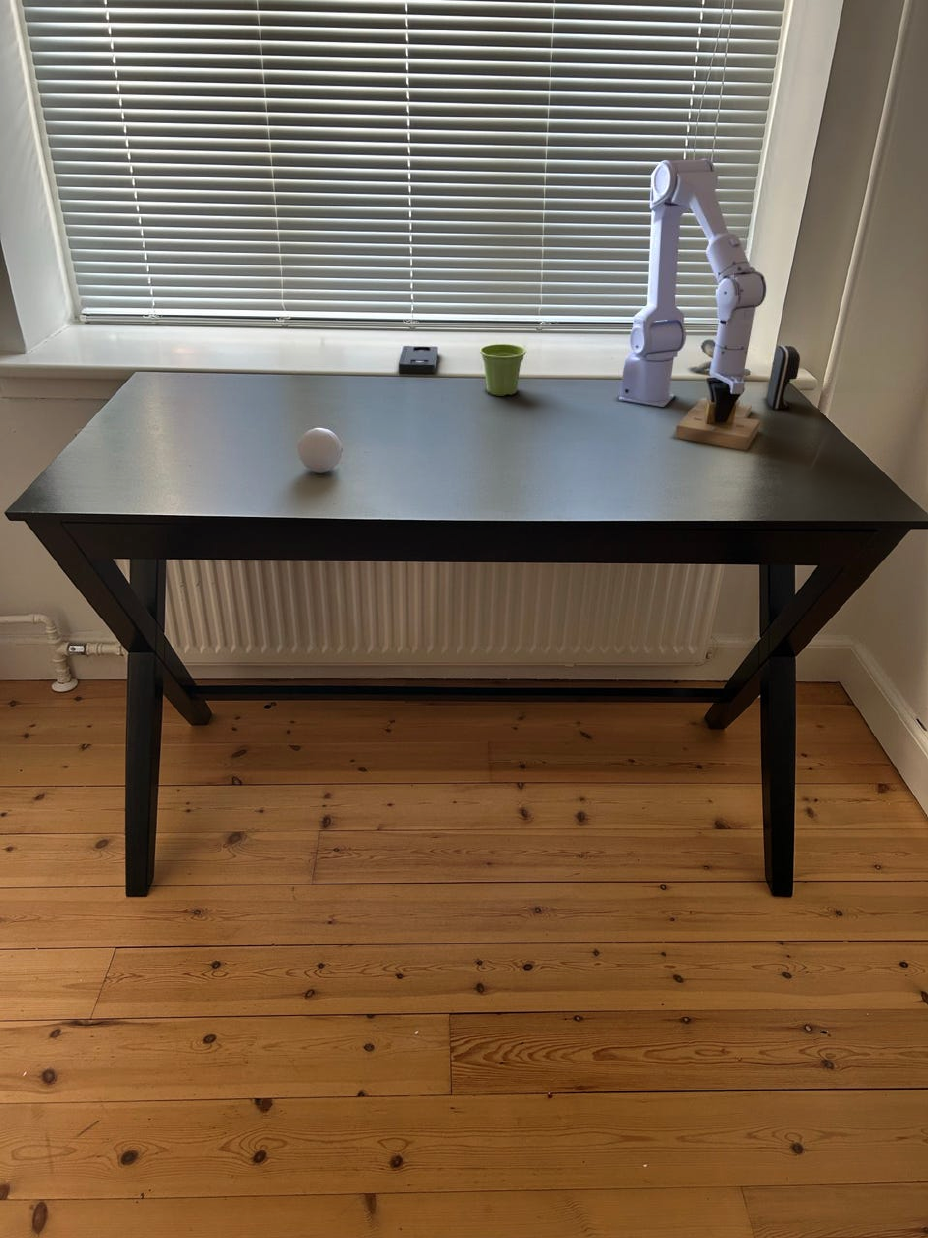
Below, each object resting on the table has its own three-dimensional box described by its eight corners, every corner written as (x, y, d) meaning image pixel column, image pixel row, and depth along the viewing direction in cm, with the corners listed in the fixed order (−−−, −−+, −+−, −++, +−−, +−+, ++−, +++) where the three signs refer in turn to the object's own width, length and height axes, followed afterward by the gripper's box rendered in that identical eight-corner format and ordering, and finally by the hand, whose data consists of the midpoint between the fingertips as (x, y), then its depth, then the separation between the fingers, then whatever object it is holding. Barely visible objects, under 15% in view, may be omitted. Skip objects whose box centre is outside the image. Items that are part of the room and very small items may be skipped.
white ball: (345, 478, 146) (342, 435, 142) (300, 481, 145) (296, 438, 141) (341, 455, 155) (338, 414, 151) (298, 457, 153) (294, 417, 149)
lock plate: (674, 438, 163) (676, 424, 161) (689, 421, 170) (691, 408, 169) (746, 450, 158) (748, 436, 156) (757, 432, 165) (760, 419, 164)
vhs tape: (434, 373, 195) (434, 364, 193) (399, 372, 195) (398, 363, 194) (437, 354, 207) (437, 346, 205) (403, 354, 207) (403, 345, 206)
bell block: (690, 416, 173) (692, 401, 171) (700, 404, 179) (703, 389, 177) (742, 424, 169) (744, 409, 167) (750, 412, 175) (753, 397, 173)
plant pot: (472, 395, 182) (473, 353, 177) (488, 382, 189) (489, 341, 185) (515, 401, 179) (517, 358, 174) (529, 387, 187) (532, 346, 182)
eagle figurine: (738, 363, 199) (700, 350, 201) (744, 341, 192) (705, 329, 194) (725, 388, 196) (687, 375, 198) (731, 367, 190) (691, 354, 192)
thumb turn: (706, 423, 162) (709, 403, 160) (704, 420, 163) (707, 400, 161) (733, 423, 162) (736, 403, 160) (731, 420, 163) (734, 400, 161)
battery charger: (791, 411, 175) (803, 353, 169) (771, 410, 176) (783, 352, 170) (784, 399, 181) (796, 343, 175) (765, 398, 182) (776, 342, 175)
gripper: (767, 357, 149) (752, 434, 156) (742, 334, 161) (729, 406, 168) (725, 357, 149) (712, 434, 156) (704, 334, 161) (693, 406, 168)
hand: (719, 419), depth 162 cm, fingers closed on thumb turn
